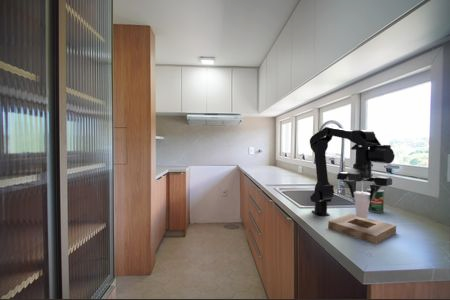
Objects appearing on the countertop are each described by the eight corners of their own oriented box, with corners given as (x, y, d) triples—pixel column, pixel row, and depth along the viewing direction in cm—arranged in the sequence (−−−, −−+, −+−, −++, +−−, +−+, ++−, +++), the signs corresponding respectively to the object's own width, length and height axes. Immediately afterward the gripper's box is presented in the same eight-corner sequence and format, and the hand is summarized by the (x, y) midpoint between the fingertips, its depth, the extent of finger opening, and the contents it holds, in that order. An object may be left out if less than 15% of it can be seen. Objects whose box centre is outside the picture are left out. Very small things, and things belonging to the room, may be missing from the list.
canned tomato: (373, 212, 117) (373, 191, 117) (362, 208, 125) (363, 188, 125) (387, 212, 118) (388, 191, 117) (376, 207, 126) (376, 188, 125)
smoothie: (370, 215, 94) (371, 182, 94) (371, 220, 89) (372, 184, 88) (352, 212, 98) (353, 180, 97) (352, 217, 92) (353, 182, 92)
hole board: (328, 228, 96) (328, 221, 96) (350, 219, 106) (350, 213, 106) (375, 244, 81) (376, 235, 81) (395, 232, 91) (396, 225, 91)
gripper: (330, 160, 95) (329, 197, 96) (380, 164, 80) (379, 208, 81) (344, 159, 102) (343, 193, 102) (393, 162, 86) (391, 203, 87)
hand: (362, 199), depth 93 cm, fingers closed on smoothie, 6 cm apart
